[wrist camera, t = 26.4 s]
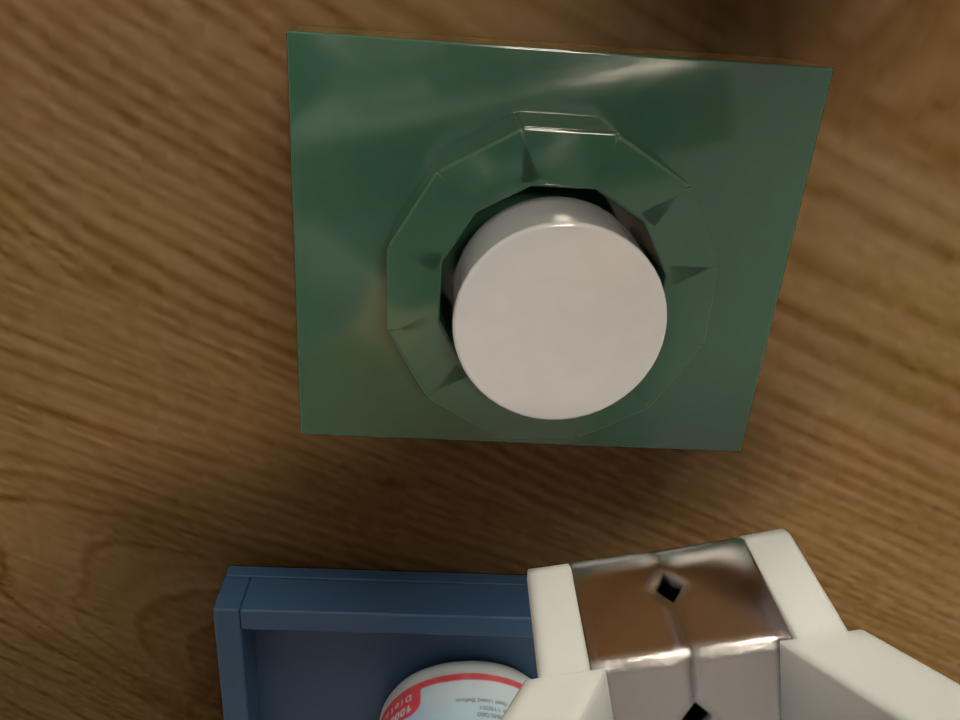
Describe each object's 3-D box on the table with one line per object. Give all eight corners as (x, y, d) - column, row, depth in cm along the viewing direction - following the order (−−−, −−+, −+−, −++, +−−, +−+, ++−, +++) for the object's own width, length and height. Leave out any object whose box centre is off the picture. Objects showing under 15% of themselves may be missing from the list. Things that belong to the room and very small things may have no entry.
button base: (312, 398, 23) (286, 477, 20) (301, 24, 19) (265, 37, 15) (719, 416, 24) (766, 495, 20) (799, 59, 20) (878, 78, 16)
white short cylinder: (447, 373, 19) (447, 417, 17) (457, 189, 17) (457, 215, 15) (631, 382, 19) (650, 425, 17) (661, 201, 17) (685, 228, 15)
